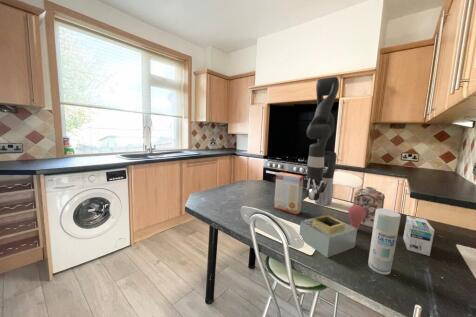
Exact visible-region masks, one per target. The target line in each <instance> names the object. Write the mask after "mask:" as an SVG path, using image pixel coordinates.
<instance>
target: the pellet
mask: <svg viewBox="0 0 476 317" xmlns="http://www.w3.org/2000/svg"><path fill="white" fill-rule="evenodd" d="M314 197H315V188H314V187H312V188H310V189H309V197H308V200H311V201H315V200H314Z"/></svg>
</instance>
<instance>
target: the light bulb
mask: <svg viewBox="0 0 476 317" xmlns="http://www.w3.org/2000/svg"><path fill="white" fill-rule="evenodd" d="M347 213H348V216H349V219H350V224H349V225H350V226H352V227H354V228H356V229H357V231H359V229H360V225H362V224H361V221H362V220H363V219H364V218H365V216H366V211H365V209H364V208H363V207H362V206H360V205H353V204H352V205H351V206H349V208H348V209H347Z"/></svg>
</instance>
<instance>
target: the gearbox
mask: <svg viewBox="0 0 476 317" xmlns="http://www.w3.org/2000/svg"><path fill="white" fill-rule="evenodd" d="M357 233H358V230H357V229H356V228H354V227H352V226H350V224H347V223H345V222H344V221H341V220H339V219H337V218H335V217H334V216H331V215H329V214H324V215H319V216H316V217H312V218H311V217H310V218H307V219H303V220H300V225H299V234H300V235H301V236H302V238H303V240H304V241H303V240H302V241H303V243H306V244H307V245H308V246H310V247H311V248H312V249H314V250H315V251H316V252H319V254H321V255H322V256H323V257H326V258H330V257H333V256H335V255H338V254H340V253H344V252H346V251H349V250H351V249H353V248H355V247H356V239H357Z"/></svg>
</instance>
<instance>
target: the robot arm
mask: <svg viewBox="0 0 476 317" xmlns="http://www.w3.org/2000/svg"><path fill="white" fill-rule="evenodd" d="M339 80H340V79H339V78H338V76H332V77H323V78H318V79H317V81H316V84H315V85H316V88H315V90H316V93H315V94H316V109H315V112H314V116H313V119H312V120H311V122H310V123H309V125H308V127H307V129H306V136H307V137H308V138H309V139H311V140H317V142H316V143H312V144H310V145H309V150H308V158H307V166H306V174H307V175H302V176H303V188H305V189H306V197H307V198H309V189H310V188H315V197H314V200H313V201H314V203H315V204H317V205H320V206H330V205H331V204H332V202H333V201H332V200H333V192H334V189H333V184H334V175H335V170H336V165H337V153H336V152H335V151H331V150H330V151H329V150H326V146H327V142H328V140H329V139H330V137H331V136H332V135H333V133H334V131H335V117H334V115H333V114H332V112H331V111H332V109H333V108H332V107H333V105H334V103H335V100H336V99H337V96H338V93H339V89H340V81H339ZM325 96H326V97H325ZM324 97H325V98H324ZM325 167H327V168H326V169H324V168H325Z"/></svg>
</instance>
